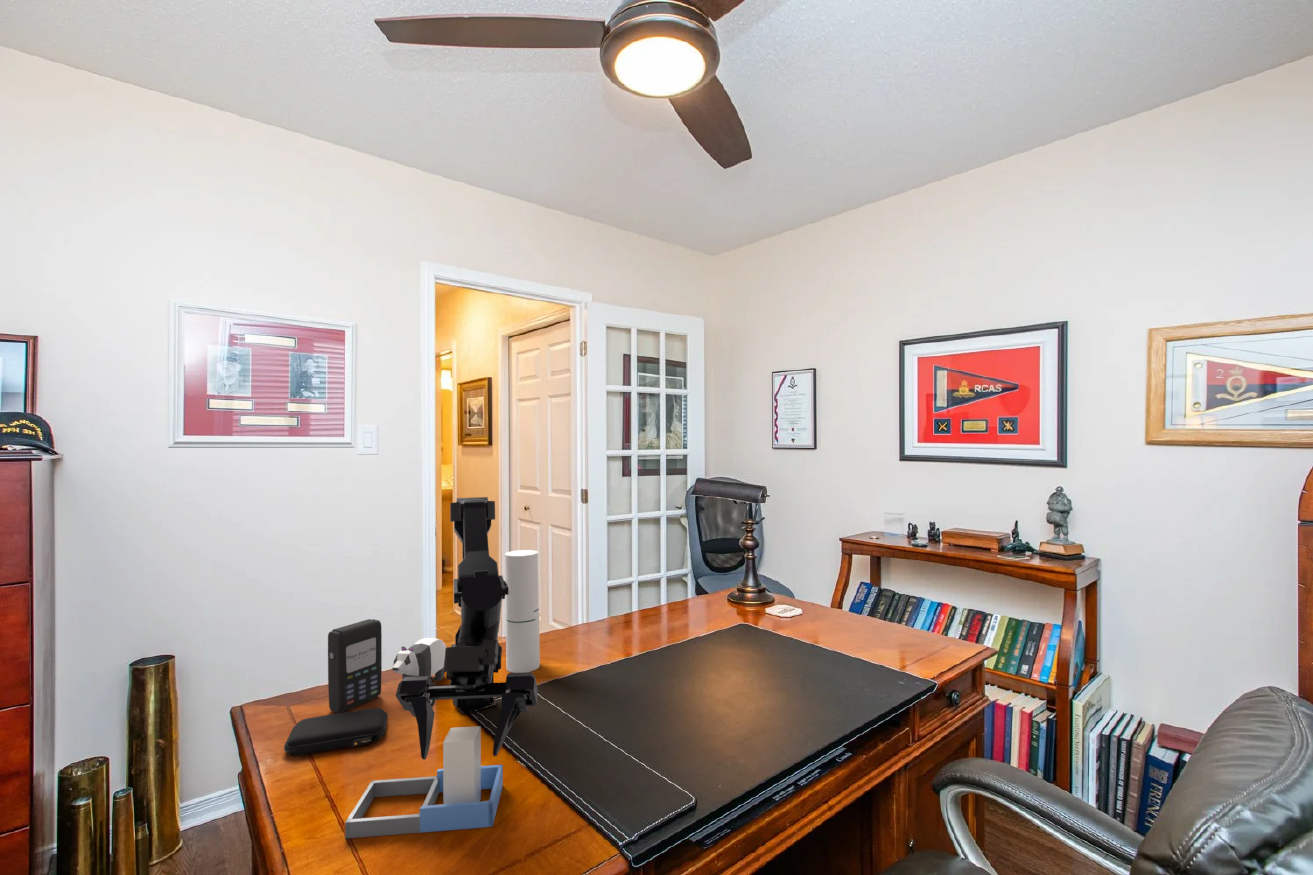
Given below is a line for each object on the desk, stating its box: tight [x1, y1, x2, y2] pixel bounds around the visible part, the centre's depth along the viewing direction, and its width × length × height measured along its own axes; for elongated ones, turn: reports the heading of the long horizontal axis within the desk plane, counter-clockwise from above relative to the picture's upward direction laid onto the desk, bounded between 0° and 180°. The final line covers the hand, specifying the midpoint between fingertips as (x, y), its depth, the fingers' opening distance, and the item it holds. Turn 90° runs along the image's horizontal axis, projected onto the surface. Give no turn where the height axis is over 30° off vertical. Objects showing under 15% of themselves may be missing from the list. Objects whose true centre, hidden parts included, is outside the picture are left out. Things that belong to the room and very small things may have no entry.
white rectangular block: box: [442, 725, 482, 804], centre depth 80 cm, size 4×4×10 cm
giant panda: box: [391, 637, 447, 682], centre depth 120 cm, size 15×6×10 cm, turn 168°
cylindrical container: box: [504, 549, 541, 673], centre depth 131 cm, size 7×7×25 cm
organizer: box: [344, 764, 504, 839], centre depth 80 cm, size 18×9×3 cm, turn 97°
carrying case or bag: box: [283, 707, 389, 757], centre depth 99 cm, size 11×3×15 cm
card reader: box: [327, 618, 383, 714], centre depth 113 cm, size 9×4×15 cm, turn 151°
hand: (459, 756), depth 79 cm, fingers open, 9 cm apart
